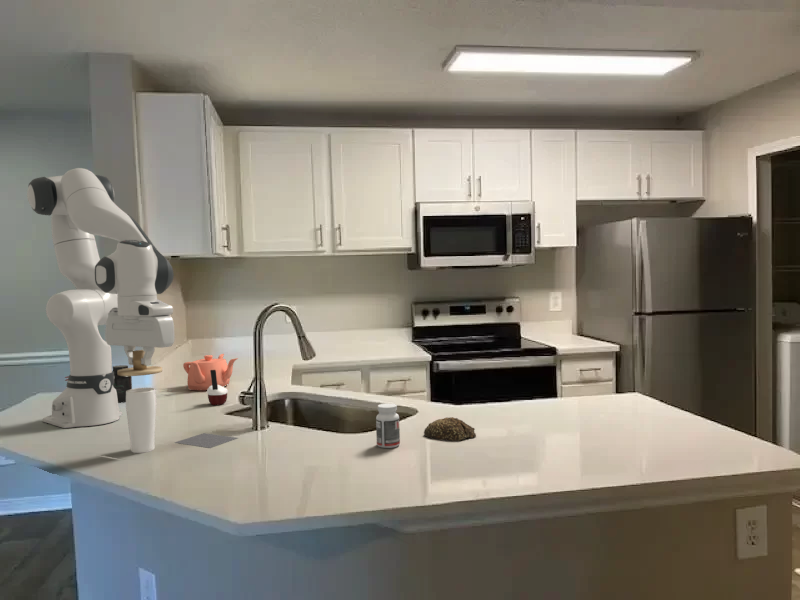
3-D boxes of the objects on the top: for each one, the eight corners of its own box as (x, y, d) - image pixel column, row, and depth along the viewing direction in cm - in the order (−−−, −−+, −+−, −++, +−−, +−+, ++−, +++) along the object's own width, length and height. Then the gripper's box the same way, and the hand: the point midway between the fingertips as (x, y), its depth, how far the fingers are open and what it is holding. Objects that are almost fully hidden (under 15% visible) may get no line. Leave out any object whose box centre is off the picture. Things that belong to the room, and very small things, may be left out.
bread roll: (417, 436, 161) (417, 417, 161) (447, 427, 170) (447, 409, 170) (456, 445, 153) (456, 425, 152) (485, 435, 162) (485, 416, 161)
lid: (108, 374, 148) (107, 352, 148) (143, 368, 156) (142, 347, 156) (136, 377, 143) (135, 354, 143) (171, 370, 152) (170, 349, 152)
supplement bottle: (118, 398, 217) (116, 364, 216) (136, 399, 216) (135, 364, 215) (106, 402, 210) (105, 367, 209) (125, 403, 209) (123, 367, 208)
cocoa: (217, 402, 210) (216, 366, 210) (233, 402, 208) (232, 366, 208) (199, 407, 201) (198, 369, 201) (216, 407, 199) (215, 369, 199)
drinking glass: (147, 456, 147) (144, 393, 146) (121, 454, 148) (119, 392, 147) (163, 448, 153) (161, 387, 153) (138, 446, 155) (136, 387, 154)
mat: (174, 444, 157) (174, 442, 157) (203, 434, 166) (203, 433, 166) (210, 449, 151) (210, 447, 151) (238, 439, 160) (238, 437, 160)
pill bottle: (403, 443, 154) (402, 403, 154) (395, 449, 149) (394, 408, 148) (381, 441, 156) (380, 402, 156) (373, 447, 151) (372, 407, 150)
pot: (240, 389, 232) (239, 355, 232) (192, 394, 223) (192, 359, 222) (224, 382, 248) (223, 351, 247) (179, 387, 238) (178, 354, 238)
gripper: (97, 308, 151) (99, 364, 152) (156, 308, 142) (159, 368, 142) (119, 306, 157) (121, 361, 157) (178, 307, 147) (180, 365, 148)
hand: (139, 364), depth 150 cm, fingers closed on lid, 3 cm apart
